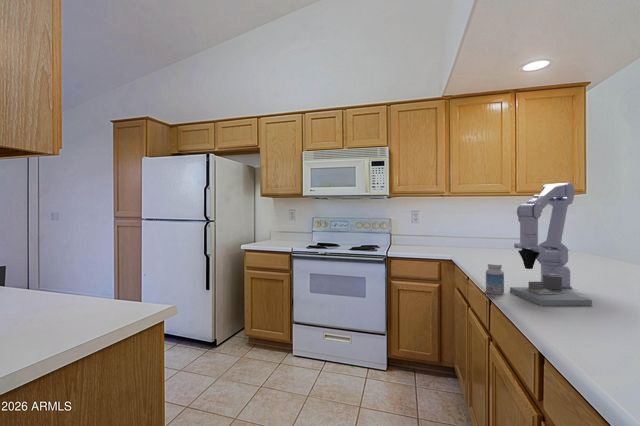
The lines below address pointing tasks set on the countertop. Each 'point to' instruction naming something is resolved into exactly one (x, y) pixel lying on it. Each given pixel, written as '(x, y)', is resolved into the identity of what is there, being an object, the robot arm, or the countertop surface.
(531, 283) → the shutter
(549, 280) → the plug
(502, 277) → the pill bottle
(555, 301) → the socket panel
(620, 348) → the countertop surface
